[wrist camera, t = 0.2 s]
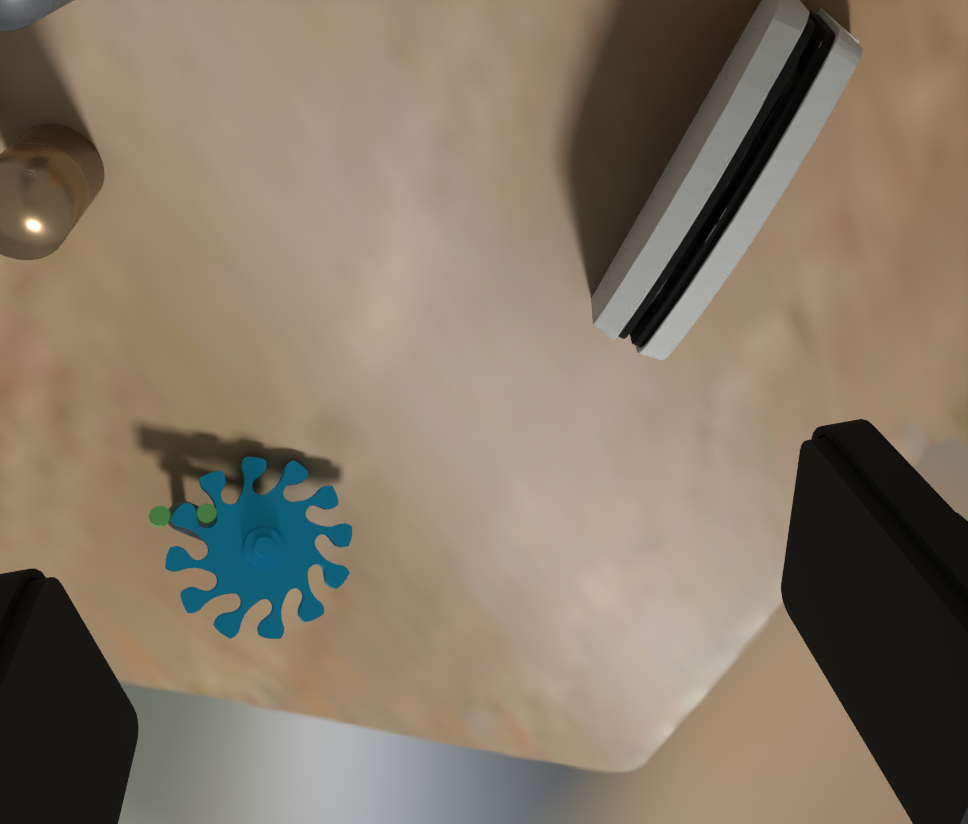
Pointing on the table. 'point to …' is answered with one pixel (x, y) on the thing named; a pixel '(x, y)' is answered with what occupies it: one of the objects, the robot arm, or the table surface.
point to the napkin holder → (726, 174)
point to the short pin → (45, 189)
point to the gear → (255, 546)
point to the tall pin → (26, 12)
